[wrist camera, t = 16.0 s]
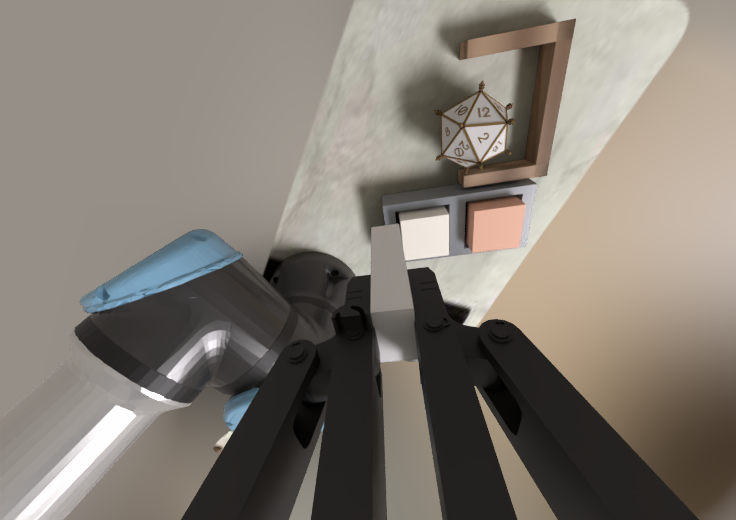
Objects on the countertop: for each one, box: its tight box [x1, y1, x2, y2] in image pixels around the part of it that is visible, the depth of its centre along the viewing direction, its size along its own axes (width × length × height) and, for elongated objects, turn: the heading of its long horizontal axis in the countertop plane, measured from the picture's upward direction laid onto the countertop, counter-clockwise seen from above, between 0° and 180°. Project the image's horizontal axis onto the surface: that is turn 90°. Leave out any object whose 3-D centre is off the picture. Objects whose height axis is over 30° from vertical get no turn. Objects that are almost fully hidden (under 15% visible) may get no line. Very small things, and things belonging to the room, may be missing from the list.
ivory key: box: [399, 205, 449, 261], centre depth 38 cm, size 6×6×3 cm
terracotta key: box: [466, 196, 526, 253], centre depth 37 cm, size 6×6×3 cm
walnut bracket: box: [458, 19, 576, 188], centre depth 32 cm, size 10×15×3 cm, turn 9°
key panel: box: [382, 178, 537, 262], centre depth 39 cm, size 19×9×4 cm, turn 99°
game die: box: [434, 80, 516, 174], centre depth 31 cm, size 9×8×10 cm
